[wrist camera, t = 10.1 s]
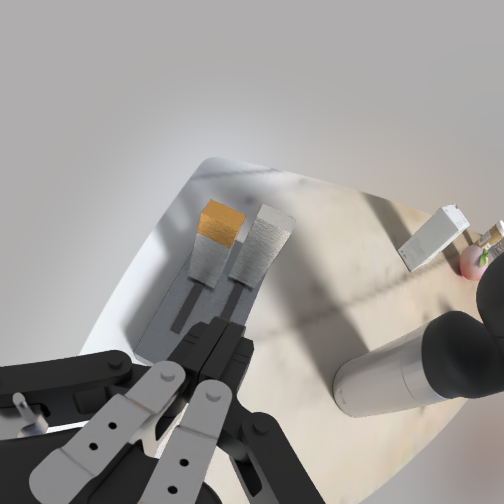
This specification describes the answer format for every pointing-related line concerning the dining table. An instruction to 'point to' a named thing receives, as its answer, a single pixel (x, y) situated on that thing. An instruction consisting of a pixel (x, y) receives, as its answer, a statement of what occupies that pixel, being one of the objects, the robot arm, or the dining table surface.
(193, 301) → the console
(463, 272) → the decorative fruit
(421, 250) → the skincare box
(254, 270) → the grey upright block
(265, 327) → the dining table surface
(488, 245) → the sprinkles bottle
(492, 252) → the french press
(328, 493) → the dining table surface
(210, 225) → the knob orange
